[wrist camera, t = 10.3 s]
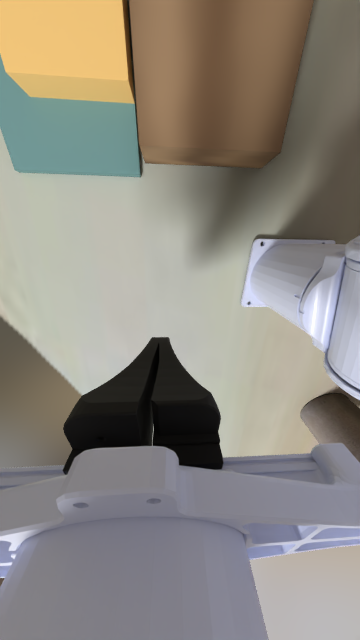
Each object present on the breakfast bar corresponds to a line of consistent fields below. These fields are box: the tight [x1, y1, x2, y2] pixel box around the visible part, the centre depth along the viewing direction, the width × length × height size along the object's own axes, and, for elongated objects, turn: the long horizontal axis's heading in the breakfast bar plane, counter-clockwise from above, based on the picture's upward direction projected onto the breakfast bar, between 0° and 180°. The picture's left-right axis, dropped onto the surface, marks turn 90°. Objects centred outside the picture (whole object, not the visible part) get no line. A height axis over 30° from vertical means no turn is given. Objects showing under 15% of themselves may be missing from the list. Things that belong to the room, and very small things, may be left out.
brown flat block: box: [129, 0, 314, 168], centre depth 11 cm, size 11×12×3 cm
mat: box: [0, 0, 141, 177], centre depth 11 cm, size 11×14×1 cm
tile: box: [0, 0, 135, 104], centre depth 10 cm, size 8×6×2 cm
